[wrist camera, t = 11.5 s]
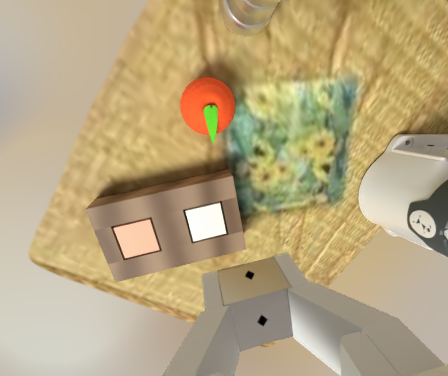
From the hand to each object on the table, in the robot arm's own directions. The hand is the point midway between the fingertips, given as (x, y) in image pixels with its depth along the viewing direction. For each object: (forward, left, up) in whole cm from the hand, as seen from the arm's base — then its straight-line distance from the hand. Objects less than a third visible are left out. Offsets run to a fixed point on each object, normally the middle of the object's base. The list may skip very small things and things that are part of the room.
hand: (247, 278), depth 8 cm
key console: (+6, +10, -29) cm, 31 cm away
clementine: (-2, -5, -29) cm, 30 cm away
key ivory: (+1, +10, -28) cm, 30 cm away
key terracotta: (+12, +10, -28) cm, 32 cm away
